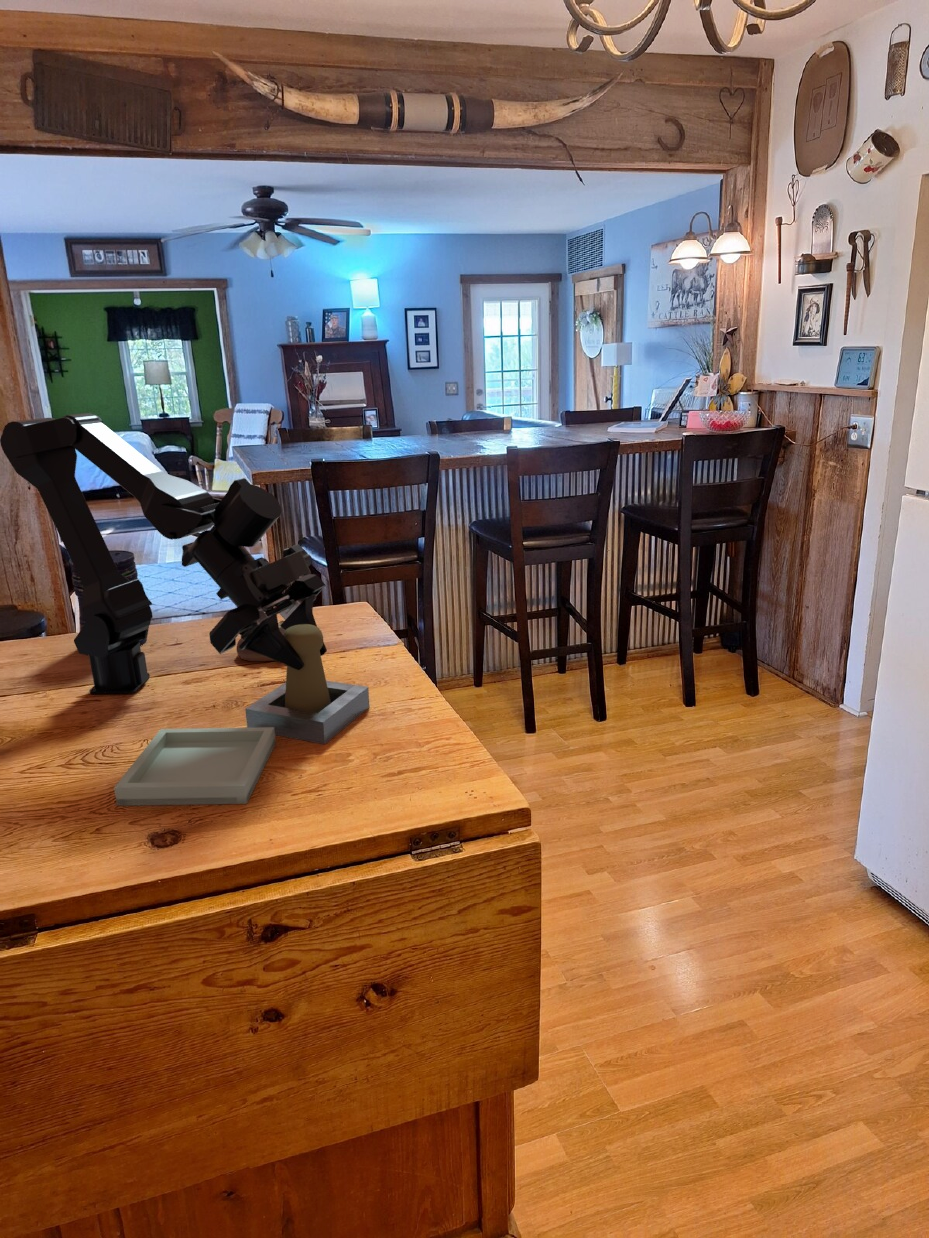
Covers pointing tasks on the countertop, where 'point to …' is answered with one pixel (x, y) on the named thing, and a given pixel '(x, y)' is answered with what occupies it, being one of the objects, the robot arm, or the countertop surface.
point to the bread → (254, 656)
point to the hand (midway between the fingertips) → (313, 660)
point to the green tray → (197, 767)
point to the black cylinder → (124, 566)
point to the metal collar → (309, 713)
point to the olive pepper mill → (306, 670)
